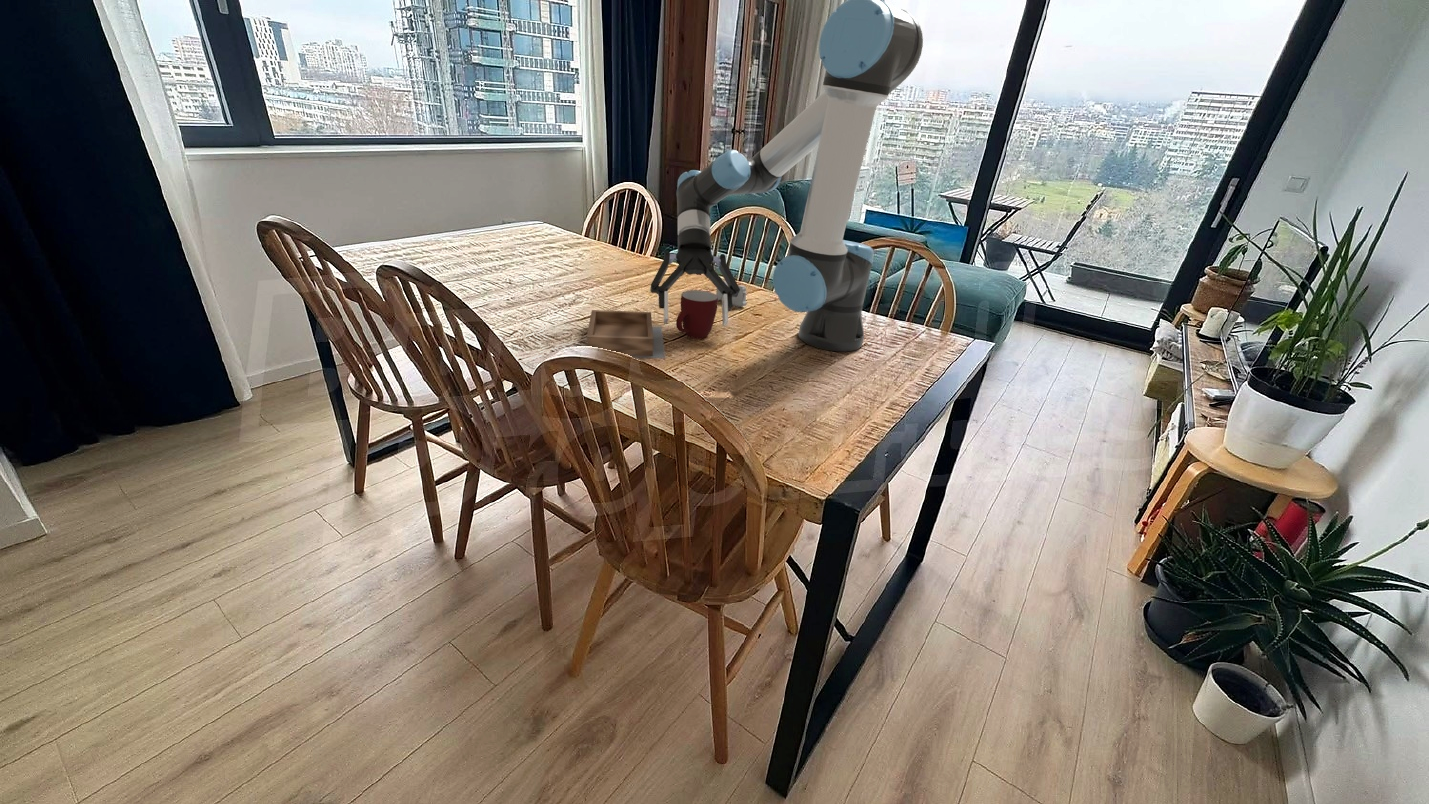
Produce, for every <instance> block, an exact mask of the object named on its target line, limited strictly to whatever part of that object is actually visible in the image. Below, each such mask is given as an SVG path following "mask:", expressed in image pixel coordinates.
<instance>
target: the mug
mask: <svg viewBox="0 0 1429 804" xmlns="http://www.w3.org/2000/svg"><path fill="white" fill-rule="evenodd" d="M718 301H719V300H718V296H717V295H716V294H715V293H714V292H711V291H707V290H698V289H694V290H686V291H683V292H682V293H681V295H680V312H679V313H678V314H677V317H676V321H675V322H676V323H675V325H676V329H677V330H678V331H679V332H681V333H684V334H685V335H686V336H687V337H689V338H692V339H697V340H698V339H705V338H707V337H708V336H709V335H710V333H711V331H712V329H713V326H714V325H713V324H714V321H715V318H716V314H717V310H718Z"/></svg>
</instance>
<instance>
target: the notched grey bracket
mask: <svg viewBox="0 0 1429 804" xmlns="http://www.w3.org/2000/svg"><path fill="white" fill-rule="evenodd" d="M721 279H722V278H721ZM722 280H723V281H724V282H725V283H726V281H725V279H724V278H723V279H722ZM726 284H727V283H726ZM727 286H728V285H727ZM738 286H739V288H740V291H739V294H738V296H737V297H732V307H733V306H734V307H738V308H741V307H745V306H747V304H748V302H747V297H746V296H747V294H748V293H747V287H746V286H745V285H742V284H739V285H738ZM715 293H716V295H717V296H718V301H722V298H723V295H722V293H721V292H720V291H719V290H718V289H717V288H716V292H715Z"/></svg>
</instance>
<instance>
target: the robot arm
mask: <svg viewBox="0 0 1429 804" xmlns="http://www.w3.org/2000/svg"><path fill="white" fill-rule="evenodd" d="M923 44H924V38H923V31H922V28H921V25H920V24H919V21H918V20H917V19H916V17H915V16H913V14H911V13H910V12H908V11H907V10H905V9H902V8H901V9H900V8H897V7H896V6H894V5H892V4H889V3H888V2H886V1H885V0H846V1H844V2H842V3H841V4H840V5H838V7H837V8H835V10H833V11H832V13H831V14H830V15H829V17H828V18H827V20H826V22H825V23H824V25H823V28H822V31H821V33H820V37H819V43H818V52H819V54H818V55H819V58H820V60H821V62H822V66H823V67H824V70H825V74H824V77H823V83H822V88H823V91H822V93H821V94H819V96H817V98H816V99H814V100H813V101H812V102H811V103H810V104H808V106H806V108H805V109H804V110H802V111H801V112H800V113H799V114H798V115H797V116H796V117H794V119H793V120H791V121H790V122H789V123H788V124H787V125H786V126H785V127H784V128H782V129H781V131H779V133H777V134H776V135H775V136H774V137H773V138H772V139H771V140H770V141H769V142H768V143H767V144H765V146H763V147H762V148H761V149H760V150H759V151H758V152H756V154H754V156H752V157H750V158H746V157H745V156H744V155H743V153H741V152H739V151H738V150H736V149H728V150H727V151H725V152H724V153H722V154H720V155H719V156H717V157H715V159H714V160H713V161H712V162H711V163H710V164H709V165H708V166H706V167H705V168H704V169H702V170H701V171H700V170H696V169H691V170H689V171H685V172H683V173H682V174H680V176H679V177H678V178H677V185H676V187H677V189H676V203H677V204H676V207H677V209H676V210H677V213H676V214H677V215H676V216H677V253H671V252H670V251H669V250H665V251H664V254H663V255H664V256H663V260H662V262H661V264H660V266H659V269H658V270H657V271H656V275H655V276H654V278H653V280H652V281H651V284H650V292H651V294H657V296H658V308H659V309H663V324H664V325H667V324H668V322H669V290H670V289H671V288H672V286H674V285H675V283H676V282H677V281H678V280H679V279H680V278H681V277H682V276H684V274H685V273H686V274H687V275H698V276H702V275H704V276H705V277H706V278H707V279H708V280H709V281H710V282H711V283H712V284H713V285H714V287H715V288H716V290H717V289H718V290H719V291H720V292H721V293H722V295H723V298H722V300H721V309H722V310H721V311H722V314H721V315H722V317H721V319H722V327H727V325H728V323H729V312H731V311H732V308H733V305H732V297H737V296H738V294H739V291H740V288H739V285H738V283H737V281H736V279H735V277H734V275H733V273H732V271H731V269H730V267H729V265H728V263H727V258H726V255H725V254H724V253H721V254H720V255H718V256H714V255H713V253H712V238H711V208H712V207H713V206H716V205H717V204H718V203H719V202H720V201H722V200H724V199H725V198H726V197H729V196H736V195H737V196H738V195H747V194H766V193H769V192H771V191H775V190H776V188H777V187H778V186H779V185H780V183H781V179H782V176H784V175H785V174H786V173H787V172H788V171H790V169H792V168H793V167H794V166H796V164H798V163H799V162H800V161H802V160H803V159H804V158H805V157H807V156H808V155H809V154H810V153H811V152H812V151H814V150H815V149H816V148H817V150H816V151H817V152H816V156H815V162H814V166H813V171H812V176H811V179H810V180H811V181H810V184H809V190H808V194H807V199H806V203H805V207H804V211H803V212H804V213H803V218H802V221H801V227H800V231H799V232H798V233H797V234H796V235H794V236H792V237H791V238H790V242H789V246H788V250H787V255H786V256H785V257H782V259H781V260H780V261H779V262H778V263H777V264H776V266H775V268H774V270H773V274H772V285H773V289H774V293H775V294H776V295H777V297H778V299H779V301H780V302H781V304H782V305H783V306H785V307H786V308H787V309H789V310H790V311H793V312H796V313H805V316H804V317H803V319H802V321H801V323H800V325H799V329H798V334H797V335H798V338H799V339H800V340H801V341H802V342H804V343H805V344H807V345H809V346H812V347H814V348H817V349H821V350H826V351H831V352H852V351H856V350H859V349H861V348H862V347H863V343H864V337H865V333H864V323H863V316H862V315H863V314H862V312H863V307H864V301H865V297H866V293H867V288H868V283H869V279H870V276H871V275H870V274H871V270H872V266H873V265H874V261H873V260H874V249H873V247H872V246H869V245H866V244H864V243H860V242H855V241H850V240H845V239H844V236H845V231H846V226H847V223H848V219H849V215H850V211H851V208H852V205H853V201H854V196H855V193H856V188H857V184H858V182H859V181H858V180H859V176H860V172H861V170H862V164H863V162H864V157H865V153H866V149H867V145H868V143H869V142H868V141H869V137H870V135H871V134H870V133H871V129H872V125H873V122H874V118H875V115H876V114H875V113H876V111H877V110H876V109H877V107H878V105H880V104H881V103H882V102H884V101H885V100H886V99H888V97H889V95H890V94H891V92H893V91H894V90H896V88H897V87H899V86H900V85H901V84H903V82H904V81H905V80H906V79H907V78H908V77H909V76H910V75H911V74H912V72H913V71H914V70H915V68H916V66H917V65H918V64H919V61H920V58H921V56H922V51H923V46H924V45H923ZM674 261H676V262H677V264H678V265H677V267H676V268H675V270H674V271H673V272H671V274H670V275H669V276H668V277H667V278H666V279H665V280H664V282H663V283H662V280H663V279H664V277H665V275H666V272H667V271H668V269H669V265H671V264H673V262H674ZM713 263H714V264H715V266H716V267H717V268H718V269H719V271H720V274H721V275H722V277H723V280H724V281H725V282H726V283H727V284H726V283H725V282H724V281H723V280H722V278H721V276H720V275H719V274H718V273H717V272H716V270H715V269H714V266H712V264H713ZM661 283H662V284H661ZM660 284H661V285H660ZM727 285H728V286H727ZM860 347H861V348H860Z"/></svg>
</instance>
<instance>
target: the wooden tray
mask: <svg viewBox="0 0 1429 804" xmlns="http://www.w3.org/2000/svg"><path fill="white" fill-rule="evenodd" d="M590 313H591V314H590V319H589V324H588V328H587V333H586V344H587V346H592V347H598V348H603V349H607V350H611V351H616V352H621V353H624V354H628V355H635V356H653V329H652V326H653V322H652V321H653V319H652V312H651V311H629V310H628V311H626V310H625V311H623V310H602V309H600V310H599V309H592V310H591V312H590Z"/></svg>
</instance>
